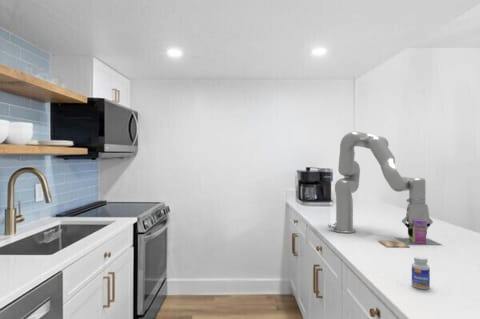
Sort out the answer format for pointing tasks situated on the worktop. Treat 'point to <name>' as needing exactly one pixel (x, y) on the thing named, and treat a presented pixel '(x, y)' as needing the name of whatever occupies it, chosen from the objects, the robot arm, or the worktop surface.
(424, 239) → the box
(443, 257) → the worktop surface
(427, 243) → the tile
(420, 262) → the pill bottle
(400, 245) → the wooden pad
